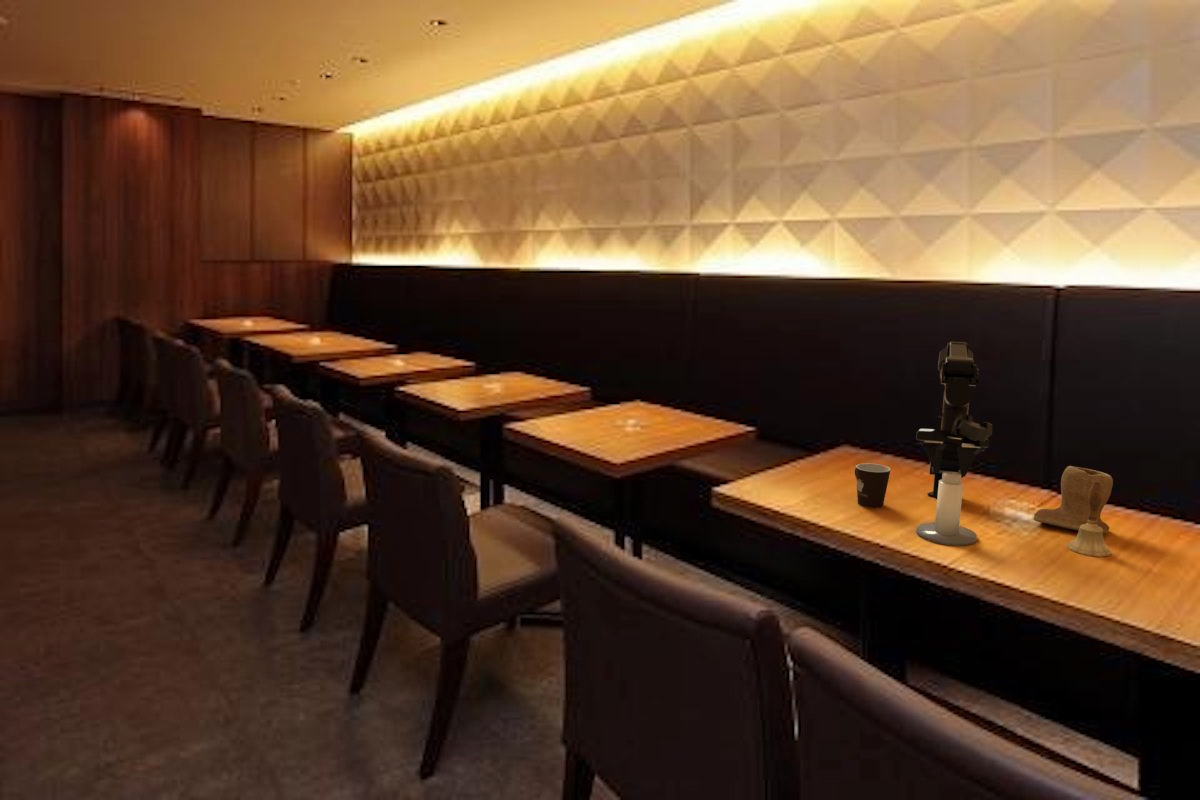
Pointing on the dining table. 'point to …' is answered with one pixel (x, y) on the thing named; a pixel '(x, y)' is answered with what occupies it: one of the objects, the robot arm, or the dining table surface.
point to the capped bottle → (949, 504)
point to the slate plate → (961, 539)
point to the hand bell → (1091, 528)
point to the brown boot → (1077, 499)
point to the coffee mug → (871, 484)
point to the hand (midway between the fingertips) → (950, 473)
